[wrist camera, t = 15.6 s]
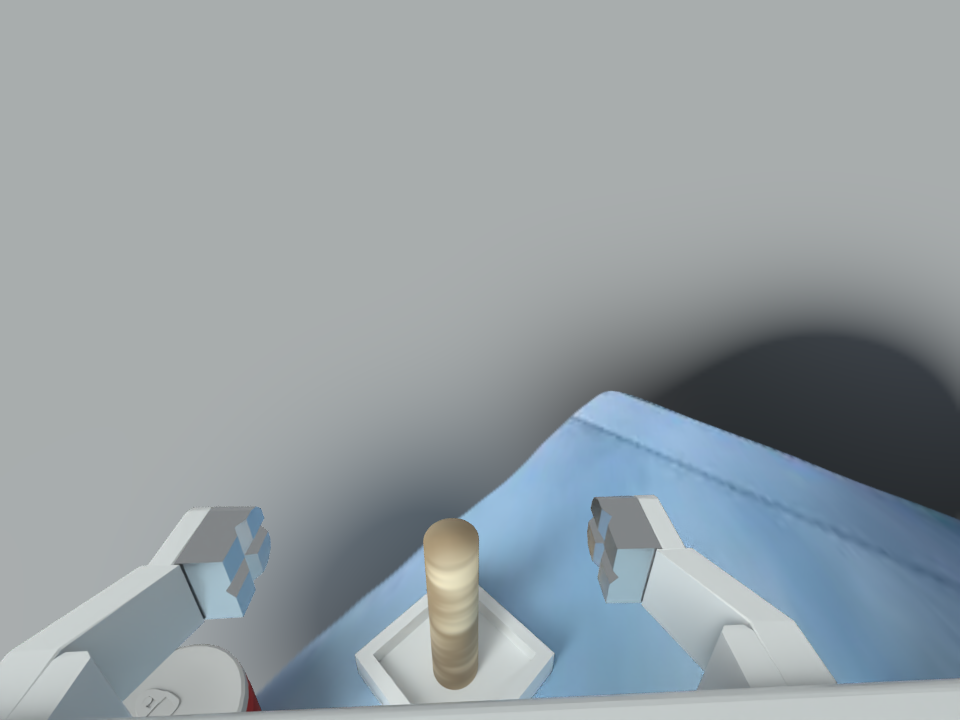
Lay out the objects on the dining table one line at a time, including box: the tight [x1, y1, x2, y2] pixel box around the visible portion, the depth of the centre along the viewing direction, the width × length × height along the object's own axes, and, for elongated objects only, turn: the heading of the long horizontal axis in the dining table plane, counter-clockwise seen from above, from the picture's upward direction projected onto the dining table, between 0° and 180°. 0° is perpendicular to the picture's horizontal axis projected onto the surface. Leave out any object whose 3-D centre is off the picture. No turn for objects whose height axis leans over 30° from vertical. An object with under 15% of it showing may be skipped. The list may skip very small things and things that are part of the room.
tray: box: [355, 586, 555, 705], centre depth 35 cm, size 11×11×2 cm
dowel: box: [423, 518, 479, 690], centre depth 32 cm, size 4×4×14 cm
